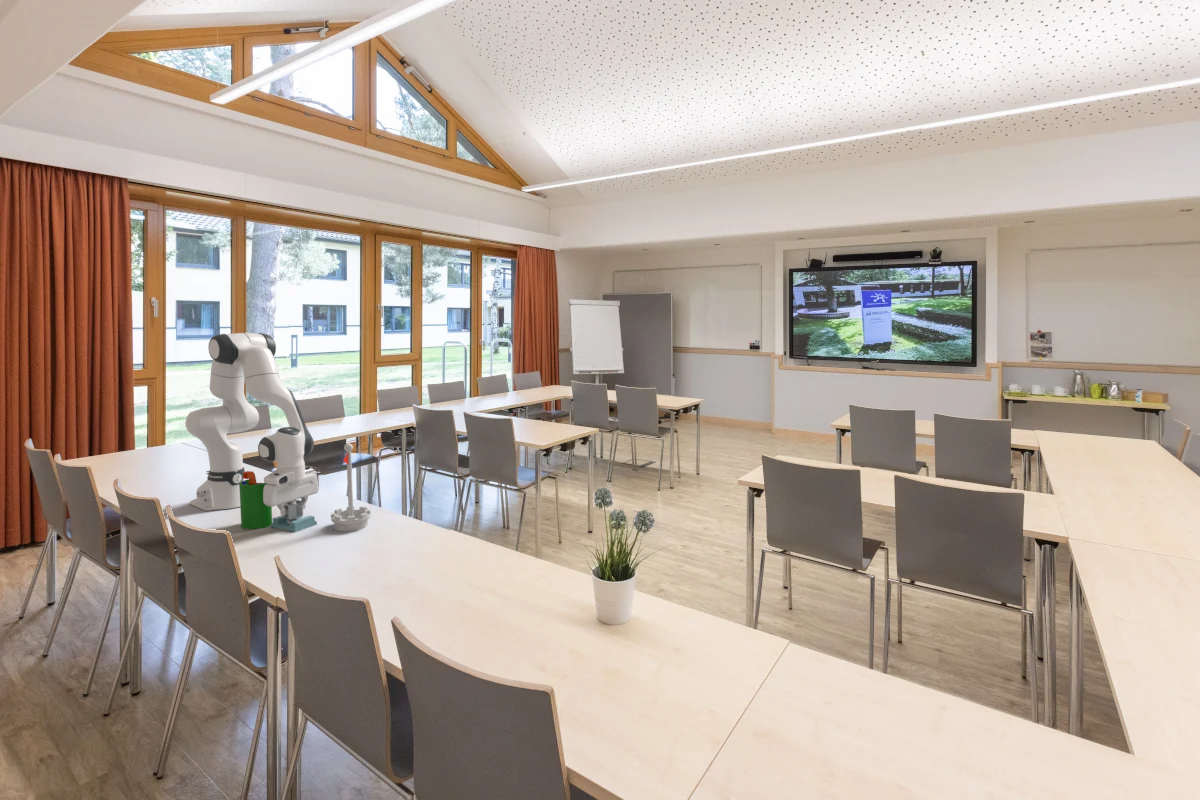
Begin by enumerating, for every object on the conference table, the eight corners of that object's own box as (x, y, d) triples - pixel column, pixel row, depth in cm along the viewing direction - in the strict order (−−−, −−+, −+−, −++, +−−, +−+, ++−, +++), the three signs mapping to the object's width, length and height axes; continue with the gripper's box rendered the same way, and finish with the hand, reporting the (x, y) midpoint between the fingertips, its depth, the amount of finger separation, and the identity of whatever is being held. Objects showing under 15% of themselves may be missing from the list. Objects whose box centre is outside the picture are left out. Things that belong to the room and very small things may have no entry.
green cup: (277, 521, 223) (275, 467, 221) (262, 530, 214) (258, 474, 212) (251, 520, 224) (248, 466, 222) (234, 528, 215) (231, 472, 213)
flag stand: (340, 519, 227) (337, 439, 223) (376, 520, 227) (373, 440, 223) (325, 532, 214) (321, 447, 210) (363, 532, 214) (359, 447, 210)
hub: (280, 517, 217) (279, 503, 217) (294, 512, 223) (294, 499, 222) (292, 520, 215) (291, 506, 214) (306, 515, 221) (306, 501, 220)
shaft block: (271, 526, 218) (269, 498, 216) (292, 519, 226) (291, 492, 225) (295, 532, 213) (293, 503, 212) (316, 524, 221) (315, 496, 220)
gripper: (309, 466, 228) (311, 502, 229) (259, 479, 209) (261, 518, 211) (322, 468, 225) (323, 505, 227) (272, 481, 207) (274, 521, 208)
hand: (293, 511), depth 219 cm, fingers closed on hub, 6 cm apart
